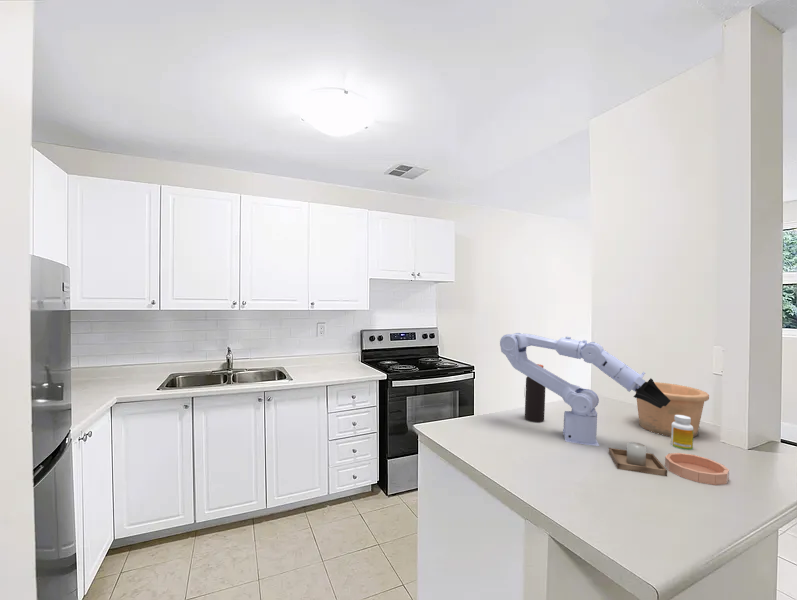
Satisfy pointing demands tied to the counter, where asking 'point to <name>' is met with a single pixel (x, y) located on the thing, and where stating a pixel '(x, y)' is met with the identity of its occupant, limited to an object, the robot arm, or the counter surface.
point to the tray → (651, 465)
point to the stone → (636, 454)
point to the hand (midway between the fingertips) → (665, 404)
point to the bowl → (697, 468)
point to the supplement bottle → (682, 433)
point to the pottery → (672, 408)
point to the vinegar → (534, 400)
